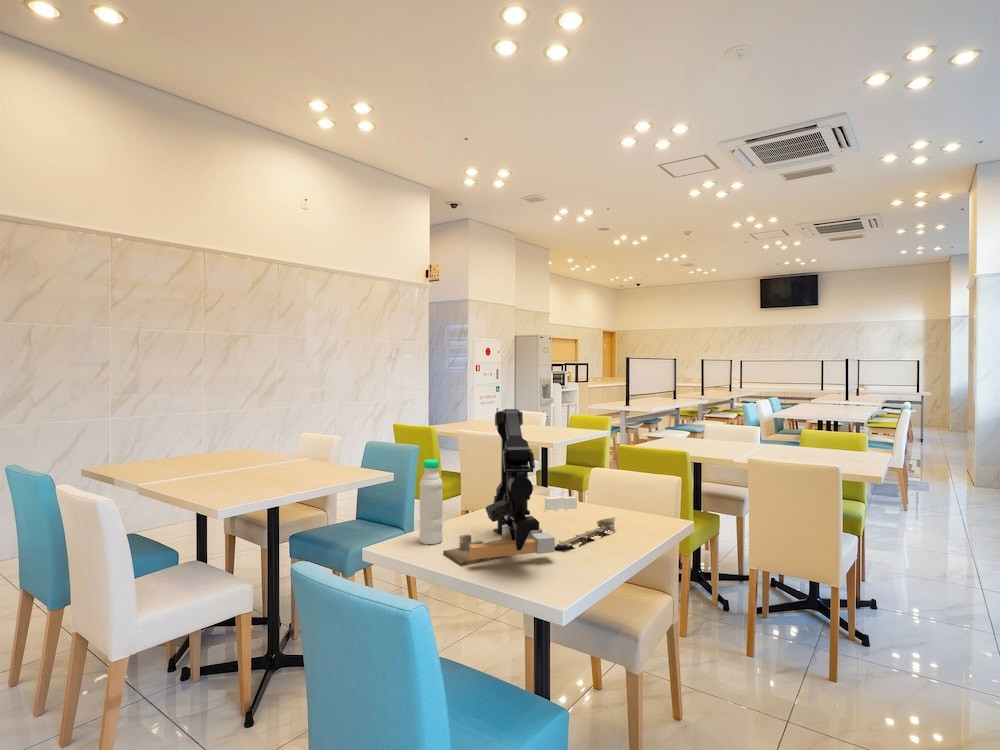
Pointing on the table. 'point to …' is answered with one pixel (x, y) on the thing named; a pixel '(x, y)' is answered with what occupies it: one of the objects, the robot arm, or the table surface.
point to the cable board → (462, 553)
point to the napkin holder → (560, 503)
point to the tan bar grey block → (514, 547)
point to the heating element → (589, 534)
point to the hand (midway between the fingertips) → (517, 548)
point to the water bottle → (431, 504)
